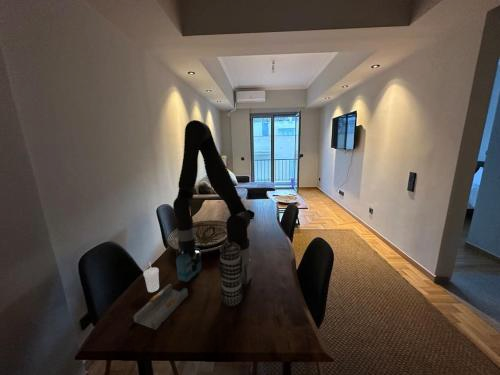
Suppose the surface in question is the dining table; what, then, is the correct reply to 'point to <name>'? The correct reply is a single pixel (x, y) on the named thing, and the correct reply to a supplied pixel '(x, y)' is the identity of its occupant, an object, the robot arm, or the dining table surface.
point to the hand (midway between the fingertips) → (189, 269)
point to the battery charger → (251, 213)
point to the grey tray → (160, 307)
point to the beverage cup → (152, 278)
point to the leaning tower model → (230, 273)
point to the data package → (186, 267)
